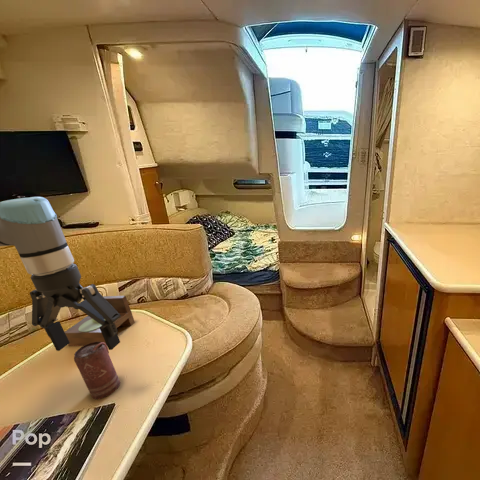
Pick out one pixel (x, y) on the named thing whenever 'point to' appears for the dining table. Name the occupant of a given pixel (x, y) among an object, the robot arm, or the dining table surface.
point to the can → (97, 369)
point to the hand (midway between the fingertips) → (88, 346)
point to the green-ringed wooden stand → (89, 328)
